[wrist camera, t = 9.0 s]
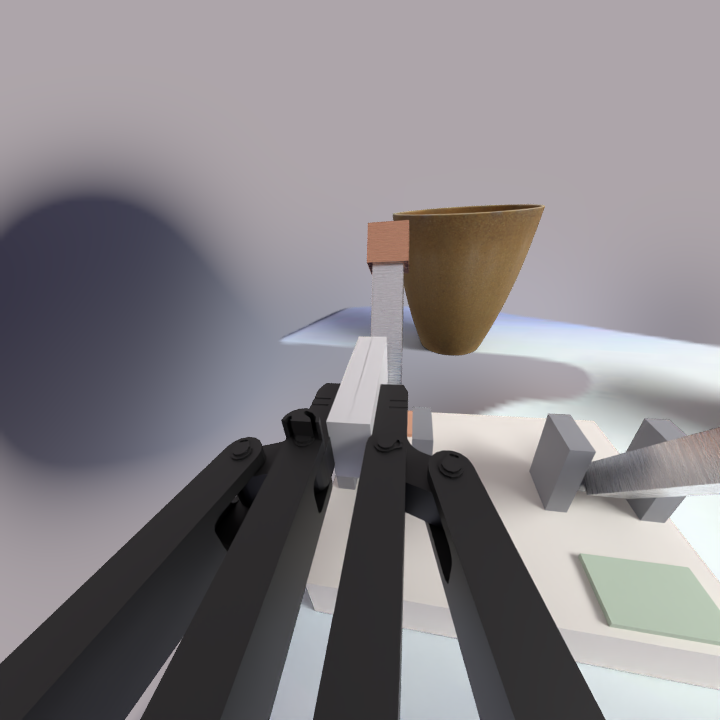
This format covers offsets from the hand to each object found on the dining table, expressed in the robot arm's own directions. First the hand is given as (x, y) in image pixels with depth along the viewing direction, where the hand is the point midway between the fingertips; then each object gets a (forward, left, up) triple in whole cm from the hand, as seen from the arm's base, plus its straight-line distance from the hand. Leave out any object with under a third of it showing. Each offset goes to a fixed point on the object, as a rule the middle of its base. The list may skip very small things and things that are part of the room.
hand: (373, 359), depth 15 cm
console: (-6, +2, -10) cm, 12 cm away
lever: (-1, +2, -6) cm, 6 cm away
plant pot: (-7, -22, -10) cm, 25 cm away
